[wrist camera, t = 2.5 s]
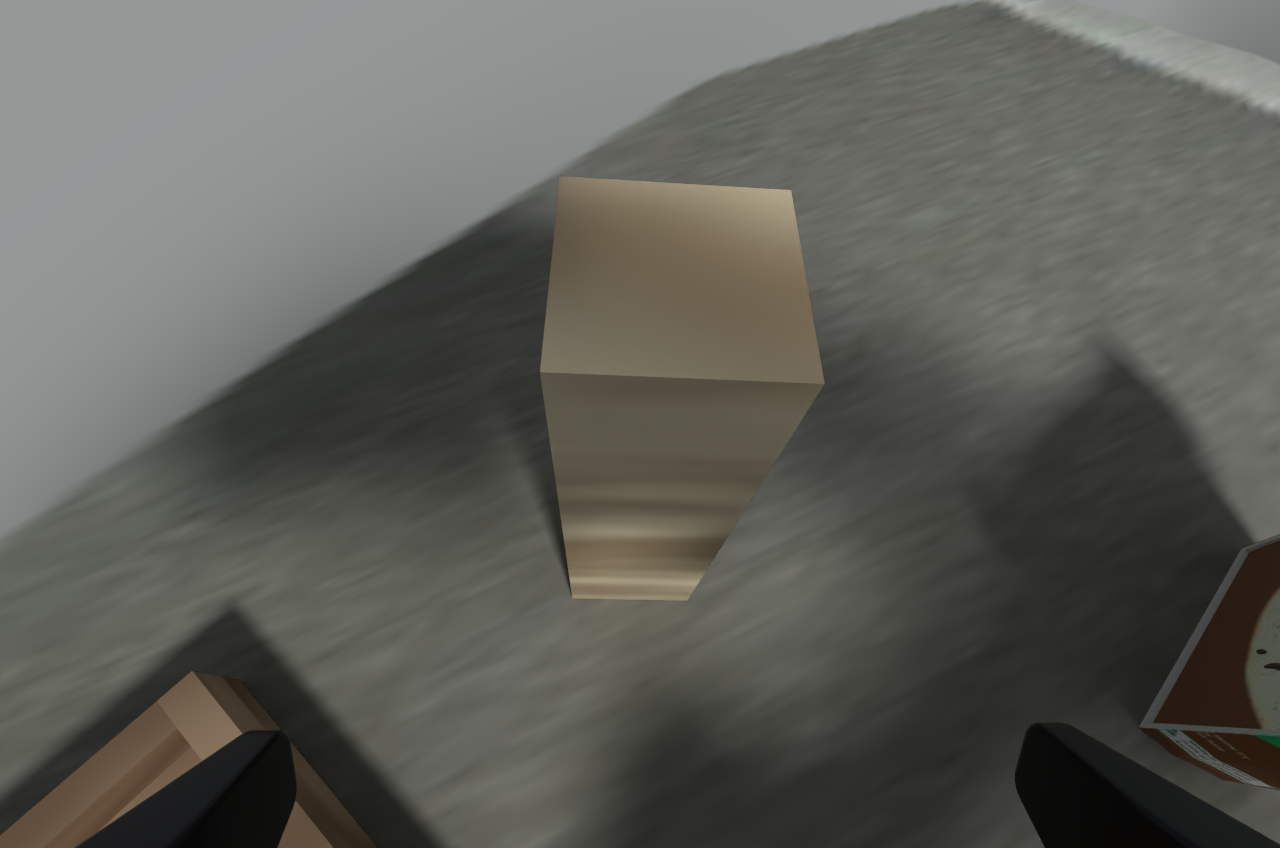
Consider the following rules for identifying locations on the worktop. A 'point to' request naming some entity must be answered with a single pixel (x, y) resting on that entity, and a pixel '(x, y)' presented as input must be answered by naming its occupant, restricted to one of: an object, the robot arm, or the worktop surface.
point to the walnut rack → (177, 771)
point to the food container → (1229, 678)
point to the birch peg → (669, 373)
